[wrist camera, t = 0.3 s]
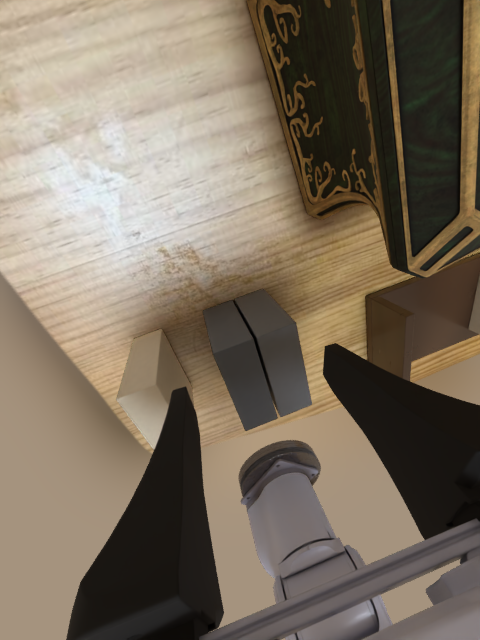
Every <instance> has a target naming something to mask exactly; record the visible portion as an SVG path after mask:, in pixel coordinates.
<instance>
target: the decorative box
mask: <svg viewBox="0 0 480 640" xmlns="http://www.w3.org/2000/svg"><path fill="white" fill-rule="evenodd" d="M247 3H248V7H249V10H250V14H251V17H252V21H253V24H254V28H255V31H256V35H257V38H258V42H259V45H260V49H261V52H262V56H263V59H264V63H265V66H266V70H267V73H268V77H269V80H270V84H271V88H272V91H273V95H274V98H275V102H276V105H277V109H278V112H279V116H280V119H281V123H282V126H283V130H284V133H285V137H286V140H287V144H288V147H289V151H290V154H291V158H292V161H293V165H294V168H295V172H296V175H297V179H298V182H299V186H300V189H301V193H302V196H303V200H304V203H305V207H306V210H307V213H308V214H309V215H311V216H313V217H315V218H318V219H321V220H322V219H325V218H327V217H329V216H331V215H333V214H335V213H337V212H339V211H341V210H343V209H345V208H348V207H351V206H355V205H369V206H371V207H372V208H373V210H374V211H375V212H376V214H377V216H378V218H379V220H380V224H381V228H382V232H383V236H384V240H385V245H386V249H387V253H388V257H389V261H390V264H391V265H392V267H393V268H395V269H397V270H400V271H402V272H405V273H407V274H410V275H413V276H416V277H419V278H422V279H423V278H426V277H428V276H430V275H432V274H434V273H436V272H438V271H440V270H442V269H444V268H446V267H447V266H449V265H451V264H453V263H455V262H457V261H459V260H461V259H463V258H464V257H466V256H468V255H470V254H472V253H474V252H476V251H478V250H480V0H247Z"/></svg>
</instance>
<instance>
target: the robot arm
mask: <svg viewBox="0 0 480 640" xmlns="http://www.w3.org/2000/svg"><path fill="white" fill-rule="evenodd" d="M323 375H324V377H325V379H326V381H327V383H328V384H329V386H330V388H331V389H332V391H333V392H334V394H335V395H336V397H337V398H338V399H339V401H340V402H341V403H342V405H343V406H344V407H345V408H346V410H347V411H348V412H349V414H350V415H351V416H352V417H353V419H354V420H355V422H356V423H357V424H358V425H359V427H360V428H361V429H362V431H363V432H364V434H365V435H366V436H367V438H368V440H369V441H370V443H371V444H372V446H373V448H374V449H375V451H376V453H377V454H378V456H379V458H380V459H381V461H382V462H383V464H384V466H385V468H386V469H387V471H388V473H389V474H390V476H391V478H392V480H393V482H394V483H395V485H396V487H397V489H398V491H399V492H400V494H401V496H402V498H403V500H404V502H405V504H406V505H407V507H408V509H409V511H410V513H411V515H412V517H413V519H414V520H415V523H416V525H417V527H418V529H419V531H420V533H421V535H422V536H423V538H424V539H425V540H424V541H422V542H420V543H417V544H415V545H413V546H411V547H408V548H406V549H404V550H401V551H399V552H396V553H394V554H392V555H389V556H387V557H385V558H383V559H380V560H378V561H375V562H373V563H371V564H368V565H365V563H364V561H363V559H362V558H361V556H360V555H359V554H358V552H357V551H356V550H355V549H353V548H351V547H350V546H349V545H346V546H343V544H342V542H341V540H340V538H336V536H335V534H334V532H333V529H332V528H331V525H330V523H329V521H328V519H327V517H326V515H325V513H324V510H323V508H322V506H321V504H320V502H319V500H318V498H317V496H316V493H315V491H314V489H313V487H312V485H311V483H310V480H311V479H312V478H313V477H314V476H315V475H316V474H317V473H318V470H317V468H313V467H309V466H306V465H302V464H298V463H295V462H291V461H287V460H284V459H278V460H276V461H275V463H274V464H273V465H272V466H271V467H270V468H269V469H268V470H267V471H266V472H265V474H264V475H263V476H262V477H261V478H260V479H259V480H258V481H257V482H256V484H255V485H254V486H253V487H252V488H251V489H250V490H249V491H248V492H247V493H246V495H245V496H244V497H243V498H242V499H241V504H243V505H246V508H247V512H248V516H249V520H250V525H251V530H252V534H253V538H254V543H255V547H256V551H257V555H258V557H259V560H260V562H261V564H262V565H263V567H264V569H265V570H266V571H267V573H268V574H269V575H270V576H272V577H273V578H275V583H274V587H273V589H274V596H275V601H276V604H275V605H273V606H270V607H268V608H266V609H263V610H261V611H259V612H256V613H254V614H252V615H249V616H247V617H245V618H242V619H240V620H238V621H235V622H233V623H230V624H228V625H226V626H224V627H221V628H219V629H217V628H218V627H219V625H220V622H221V620H222V617H223V614H224V611H223V605H222V600H221V594H220V589H219V583H218V577H217V572H216V566H215V560H214V554H213V549H212V542H211V536H210V530H209V523H208V517H207V510H206V504H205V497H204V489H203V478H202V462H201V446H200V433H199V427H198V421H197V415H196V411H195V409H194V406H193V403H192V401H191V398H190V395H189V393H188V390H187V387H186V386H185V387H182V388H178V389H175V390H173V391H172V393H171V398H170V403H169V407H168V410H167V414H166V418H165V421H164V424H163V427H162V430H161V433H160V436H159V439H158V441H157V444H156V447H155V449H154V452H153V455H152V457H151V459H150V462H149V464H148V466H147V469H146V471H145V473H144V475H143V477H142V480H141V481H140V483H139V485H138V487H137V489H136V491H135V493H134V496H133V497H132V499H131V501H130V503H129V505H128V507H127V508H126V510H125V512H124V514H123V515H122V517H121V519H120V520H119V522H118V524H117V526H116V527H115V529H114V531H113V533H112V534H111V536H110V538H109V539H108V541H107V542H106V544H105V545H104V547H103V549H102V550H101V552H100V553H99V555H98V556H97V558H96V559H95V561H94V562H93V564H92V565H91V567H90V569H89V570H88V572H87V573H86V574H85V576H84V578H83V579H82V581H81V582H80V586H79V589H78V592H77V596H76V599H75V603H74V606H73V610H72V614H71V619H70V624H69V629H68V634H67V639H66V640H281V639H283V638H285V639H286V640H480V405H476V404H472V403H469V402H465V401H462V400H459V399H456V398H453V397H449V396H447V395H444V394H441V393H438V392H435V391H432V390H430V389H427V388H424V387H422V386H419V385H417V384H415V383H412V382H410V381H407V380H405V379H403V378H401V377H399V376H396V375H394V374H392V373H390V372H388V371H386V370H384V369H382V368H380V367H378V366H376V365H374V364H372V363H371V362H369V361H367V360H365V359H363V358H361V357H360V356H358V355H356V354H354V353H353V352H351V351H349V350H347V349H345V348H344V347H342V346H340V345H338V344H336V343H335V344H331V345H328V346H325V352H324V367H323ZM459 559H461V560H460V564H461V565H459V566H457V567H456V568H454V569H452V570H450V571H449V572H446V573H444V574H443V575H441V577H440V579H439V580H438V581H436V582H435V583H434V584H432V585H431V586H429V587H428V588H427V589H426V593H427V595H428V597H429V598H430V600H431V602H432V603H433V605H434V606H432V607H430V608H427V609H425V610H423V611H421V612H419V613H417V614H414V615H412V616H410V617H408V618H406V619H404V620H402V621H400V622H398V623H396V624H392V622H391V620H390V617H389V615H388V613H387V610H386V607H385V605H384V602H383V600H382V597H381V594H383V593H385V592H387V591H389V590H392V589H394V588H396V587H398V586H401V585H403V584H405V583H407V582H410V581H412V580H414V579H416V578H419V577H421V576H423V575H425V574H427V573H430V572H432V571H434V570H436V569H438V568H441V567H443V566H445V565H447V564H449V563H452V562H454V561H456V560H459ZM215 629H216V630H215ZM212 630H214V631H212ZM210 631H212V632H210ZM376 632H377V633H376Z"/></svg>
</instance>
